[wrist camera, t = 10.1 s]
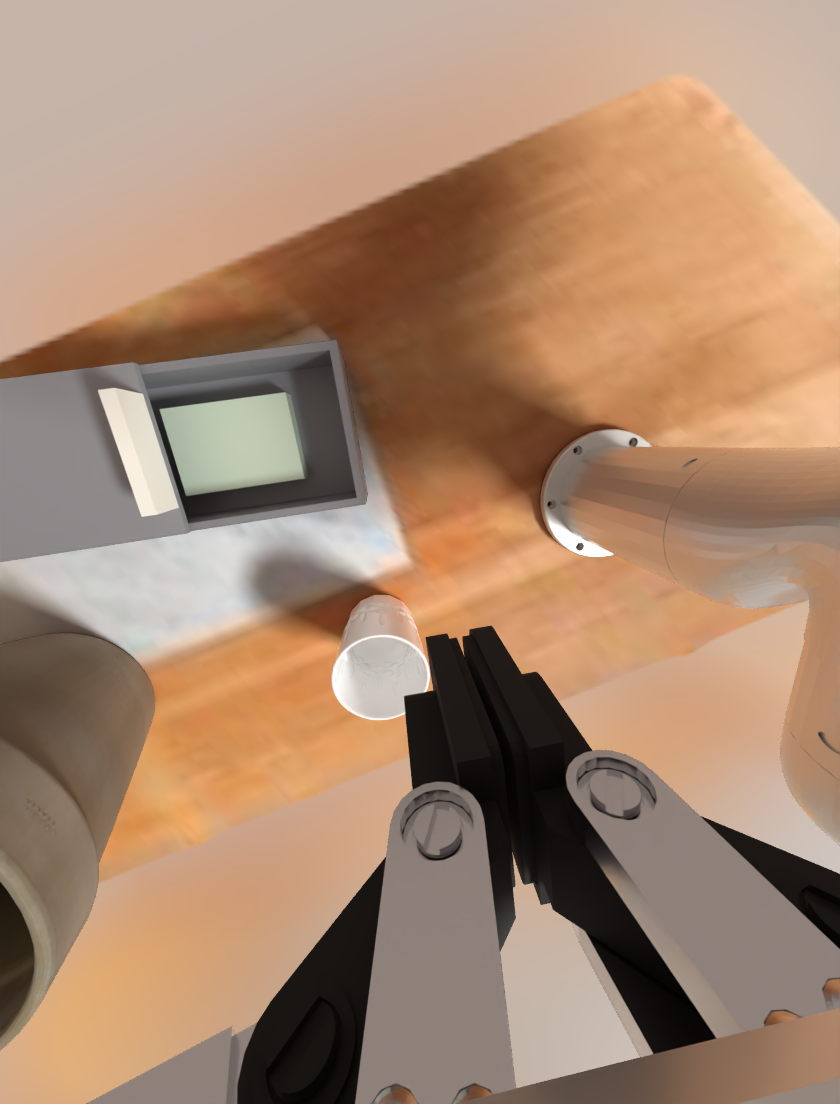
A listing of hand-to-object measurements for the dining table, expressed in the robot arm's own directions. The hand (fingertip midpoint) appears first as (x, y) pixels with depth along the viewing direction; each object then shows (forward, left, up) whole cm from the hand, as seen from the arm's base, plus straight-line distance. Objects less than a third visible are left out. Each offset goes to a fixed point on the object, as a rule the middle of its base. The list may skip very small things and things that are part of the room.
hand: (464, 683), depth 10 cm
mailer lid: (+27, -7, -23) cm, 36 cm away
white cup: (+4, +12, -29) cm, 32 cm away
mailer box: (+13, -8, -29) cm, 33 cm away
